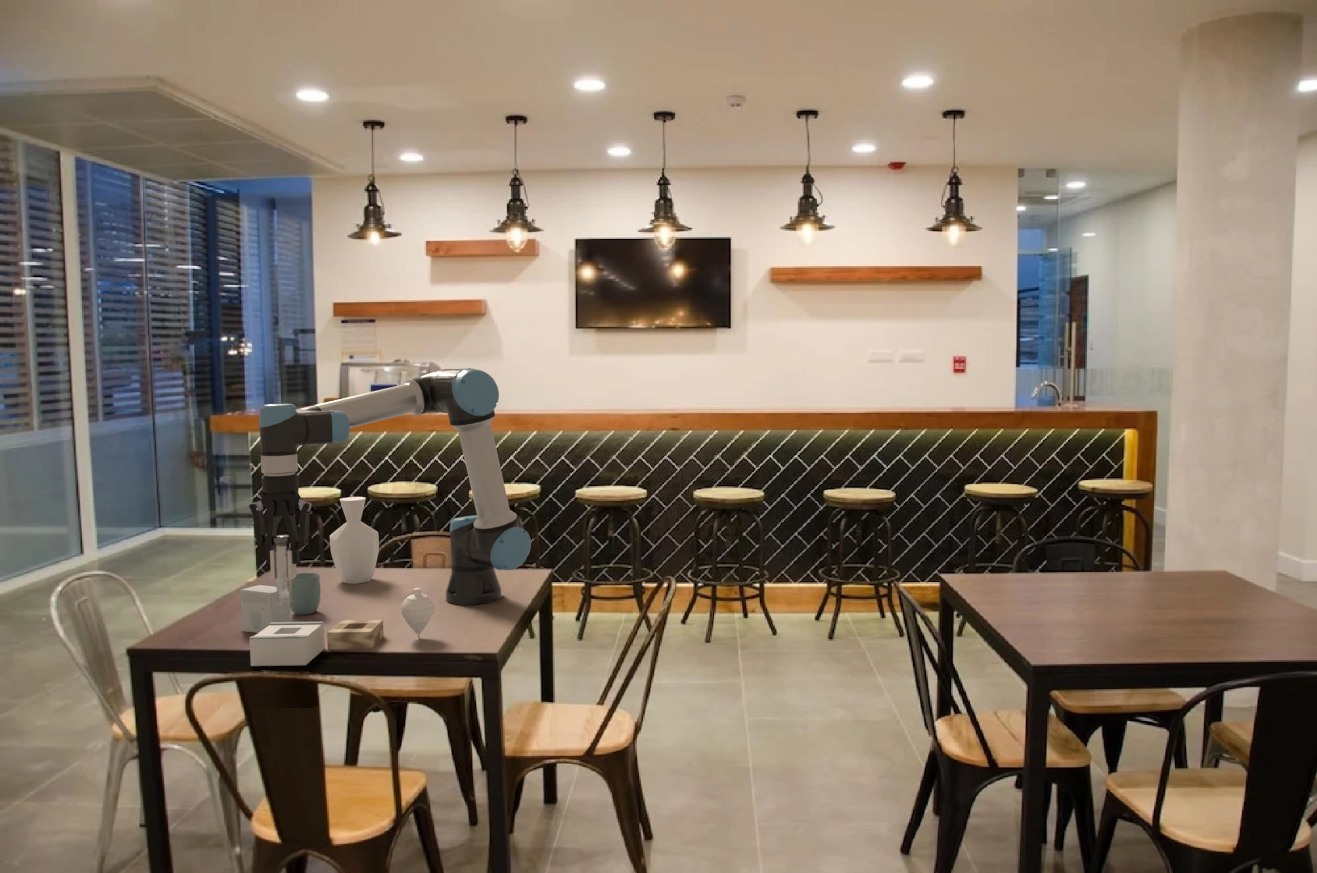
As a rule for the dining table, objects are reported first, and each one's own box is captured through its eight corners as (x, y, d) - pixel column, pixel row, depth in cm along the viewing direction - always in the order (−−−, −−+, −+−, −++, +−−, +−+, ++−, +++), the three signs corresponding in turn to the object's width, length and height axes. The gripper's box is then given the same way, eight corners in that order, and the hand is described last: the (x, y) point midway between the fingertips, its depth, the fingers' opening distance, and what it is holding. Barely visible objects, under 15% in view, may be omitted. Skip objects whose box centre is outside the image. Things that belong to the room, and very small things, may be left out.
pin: (297, 600, 213) (294, 534, 212) (290, 605, 209) (287, 538, 208) (279, 600, 213) (276, 534, 212) (272, 605, 209) (269, 538, 208)
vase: (390, 577, 288) (387, 496, 286) (358, 588, 275) (354, 503, 273) (354, 573, 294) (350, 494, 292) (320, 583, 281) (317, 501, 279)
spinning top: (409, 632, 229) (407, 584, 228) (439, 633, 228) (438, 584, 227) (397, 642, 222) (395, 592, 221) (428, 643, 221) (427, 592, 220)
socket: (324, 648, 218) (323, 621, 217) (305, 665, 206) (304, 636, 206) (273, 648, 218) (271, 622, 217) (250, 665, 206) (249, 637, 206)
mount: (383, 635, 227) (383, 619, 227) (371, 648, 217) (370, 631, 217) (342, 636, 227) (341, 620, 227) (327, 649, 217) (327, 632, 217)
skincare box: (292, 628, 235) (290, 587, 234) (272, 635, 229) (270, 593, 228) (261, 624, 239) (259, 583, 238) (240, 631, 233) (238, 589, 232)
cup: (310, 617, 244) (308, 579, 243) (283, 616, 246) (281, 578, 245) (326, 609, 252) (325, 572, 251) (300, 608, 253) (298, 572, 253)
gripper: (322, 471, 212) (326, 574, 214) (250, 472, 212) (254, 574, 214) (310, 475, 205) (314, 581, 207) (235, 476, 205) (240, 582, 207)
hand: (283, 577), depth 210 cm, fingers closed on pin, 3 cm apart
